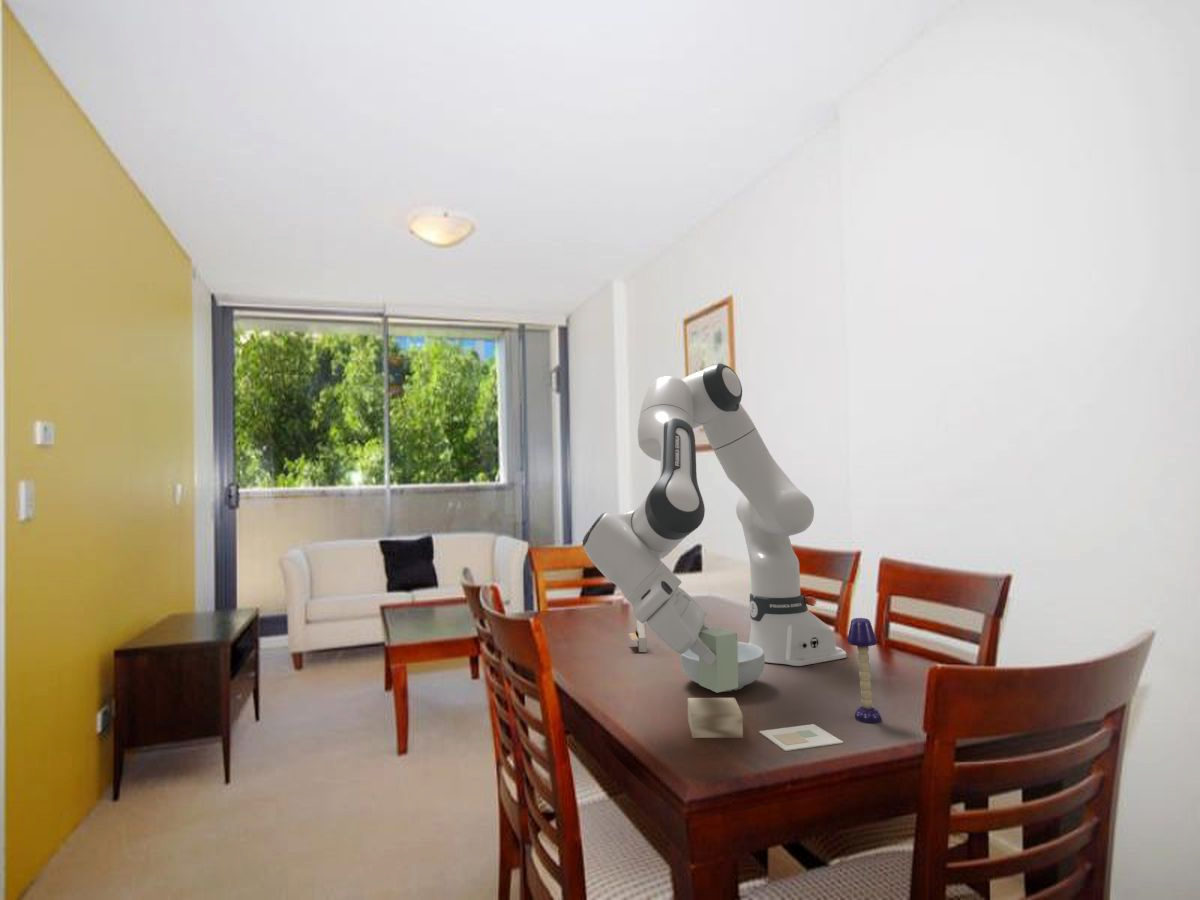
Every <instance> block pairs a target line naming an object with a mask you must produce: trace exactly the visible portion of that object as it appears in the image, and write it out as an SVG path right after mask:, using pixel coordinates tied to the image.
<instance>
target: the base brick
mask: <svg viewBox="0 0 1200 900" xmlns="http://www.w3.org/2000/svg"><path fill="white" fill-rule="evenodd" d="M687 720H688V721H687V722H688V725H689V729H690V733H691V737H692V739H693V738H694V739H698V738H700V739H701V738H702V739H704V738H705V739H709V738H711V739H713V738H714V739H716V738H718V739H720V738H721V739H725V738H728V739H729V738H732V739H733V738H736V739H737V738H739V739H740V738H741V739H743V738H744V726H743V725H744V723H743V721H744V720H743V713H742V710H741V708H740V706H739V704H738V702H737V700H736V698H735V697H687Z"/></svg>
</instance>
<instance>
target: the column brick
mask: <svg viewBox="0 0 1200 900" xmlns="http://www.w3.org/2000/svg"><path fill="white" fill-rule="evenodd" d="M698 637H699V638H700V639H701V640H702V642H703V643H704V644H705V645H706V646H707V647H708V648H711V649H712V650H713V652H714V653H715V654H716V655H717V657H716V660H715V661H714V662H713V663H712V664H711V665H709V664H707V663H706V662H705V661H704V660H703V659H702V658H701V657H699V686H701V687H703V688H705V689H708V690H709V691H712V692H715V693H722V692H728V691H727V690H731V689H735V688H738V647H737V642H738V632H736V631H732V630H729V629H726V628H723V627H720V626H717V627H713V628H709V629H707V630H701V631H700V632H699V636H698Z"/></svg>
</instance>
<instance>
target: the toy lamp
mask: <svg viewBox="0 0 1200 900" xmlns="http://www.w3.org/2000/svg"><path fill="white" fill-rule="evenodd" d="M877 642H878V641H877V637H876V635H875V632H874V628H873V626H872V623H871V621H870V619H868V618H865V617H855V618H854V617H853V618H852V619H851V620H850V625H849V630H848V636H847V643H848V645H851V646H854V647H855V646H856V647H857V648H856V649H857V651H858V653H857V654H858V655H857V658H858V659H857V660H858V669H859V674H858V675H859V679H860V681H859V687H860V696H861V703H860V704H861V706H859V707H858V708H857V709H856V710H855V712H854V718H855V719H856V721H859V722H862V723H866V724H875V723H880V722H881V721H882V716H881V713H880V712H879V710H877V709H876V708H875V707H873V704H874V703H873V700H872V697H873V694H872V692H873V691H872V690H871V689H872V682H871V673H870V669H871V666H870V655H869V647H871V646H875V645H877Z"/></svg>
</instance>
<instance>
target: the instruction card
mask: <svg viewBox="0 0 1200 900" xmlns="http://www.w3.org/2000/svg"><path fill="white" fill-rule="evenodd" d="M758 733H759V734H760V735H762V736H763V737H764V738H766V739H768V740H769V741H770V742H772V743H774V744H775V745H776V746H777V747H779V748H780V749H782V750H783V751H785V752H788V751H796V750H803V749H809V748H818V747H819V748H820V747H824V746H833V745H839V744H844V741H842V740H841V739H839V738H838V737H836V736H834V735H833V734H831V733H829V732H828V731H826V730H824V729H823V728H821V727H819V726H818V725H816V724H814V723H812V724H805V725H804V724H803V725H797V726H790V727H781V728H774V729H772V728H771V729H766V730H760V731H758Z"/></svg>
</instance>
